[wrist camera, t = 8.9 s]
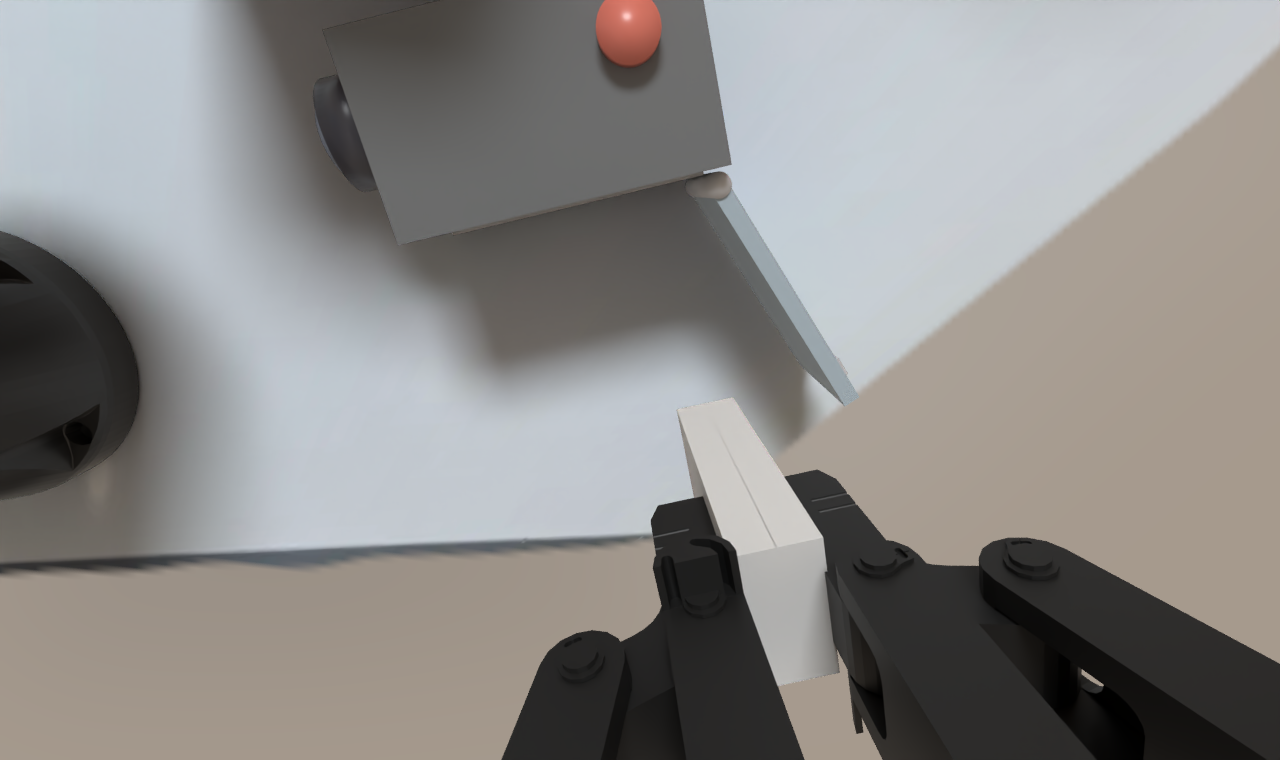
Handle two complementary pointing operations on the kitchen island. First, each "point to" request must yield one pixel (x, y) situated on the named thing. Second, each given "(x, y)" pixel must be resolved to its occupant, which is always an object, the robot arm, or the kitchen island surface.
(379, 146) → the camera block
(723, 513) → the robot arm
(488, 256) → the kitchen island surface
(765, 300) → the side door
